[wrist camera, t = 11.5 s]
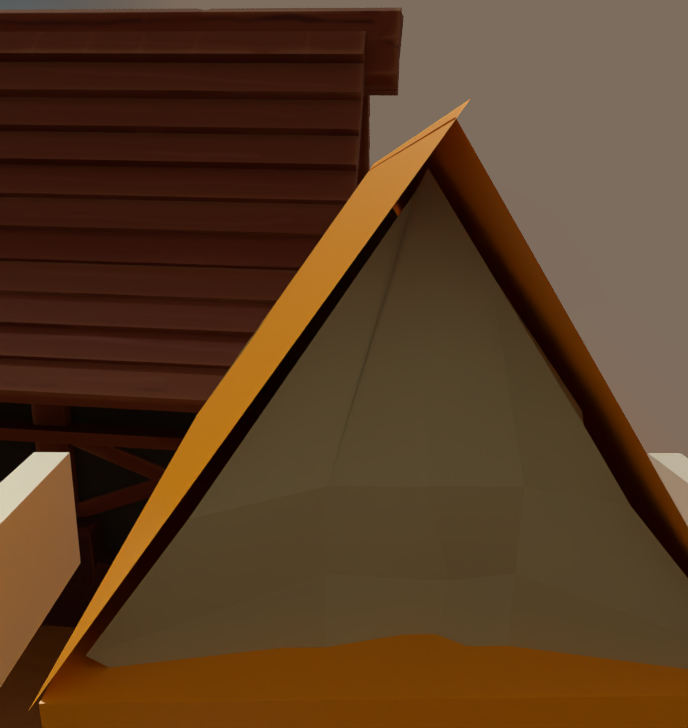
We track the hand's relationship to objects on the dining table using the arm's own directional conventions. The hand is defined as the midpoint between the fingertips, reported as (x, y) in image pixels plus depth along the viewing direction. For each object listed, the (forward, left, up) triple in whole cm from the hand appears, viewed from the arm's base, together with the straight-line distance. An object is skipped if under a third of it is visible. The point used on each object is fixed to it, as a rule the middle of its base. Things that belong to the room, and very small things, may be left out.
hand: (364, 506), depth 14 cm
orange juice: (+3, -1, -13) cm, 13 cm away
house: (-26, -8, -13) cm, 30 cm away
